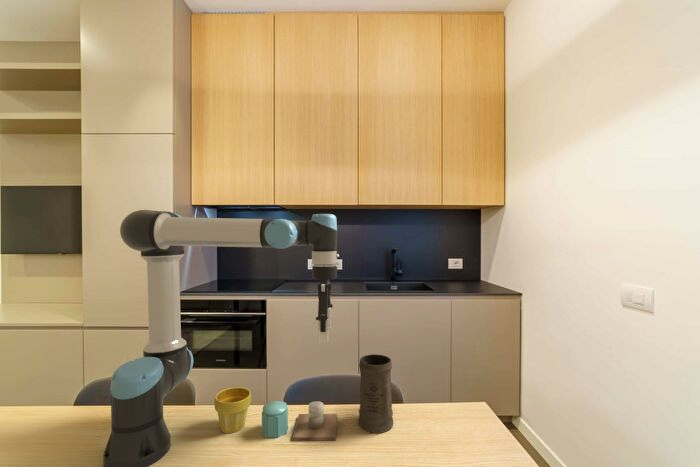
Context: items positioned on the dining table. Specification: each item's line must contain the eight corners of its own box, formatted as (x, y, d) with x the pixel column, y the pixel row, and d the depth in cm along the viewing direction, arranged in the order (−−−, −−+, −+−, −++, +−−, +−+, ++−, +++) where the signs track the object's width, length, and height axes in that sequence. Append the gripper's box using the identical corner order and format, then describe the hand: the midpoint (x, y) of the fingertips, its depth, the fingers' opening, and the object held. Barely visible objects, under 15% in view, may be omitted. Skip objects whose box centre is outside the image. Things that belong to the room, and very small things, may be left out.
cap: (259, 437, 97) (259, 413, 97) (265, 423, 104) (265, 400, 104) (284, 437, 97) (284, 413, 97) (289, 423, 104) (289, 400, 104)
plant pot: (256, 418, 107) (256, 387, 107) (242, 438, 97) (242, 404, 96) (224, 416, 108) (224, 385, 108) (207, 436, 98) (207, 402, 97)
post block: (292, 440, 95) (292, 415, 95) (298, 417, 107) (298, 395, 107) (335, 440, 95) (335, 415, 95) (337, 417, 107) (336, 394, 107)
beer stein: (395, 435, 98) (395, 364, 99) (358, 434, 98) (358, 363, 99) (390, 410, 113) (390, 349, 114) (358, 410, 113) (358, 348, 114)
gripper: (335, 269, 91) (335, 349, 91) (338, 261, 115) (338, 323, 116) (307, 270, 90) (307, 349, 91) (316, 261, 115) (316, 323, 116)
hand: (324, 335), depth 103 cm, fingers open, 13 cm apart
